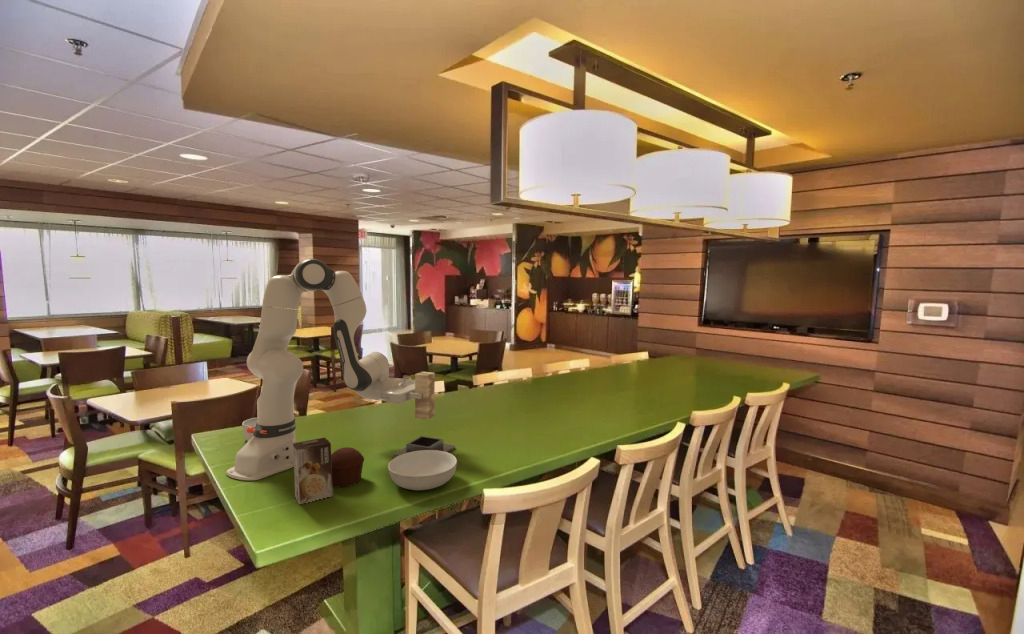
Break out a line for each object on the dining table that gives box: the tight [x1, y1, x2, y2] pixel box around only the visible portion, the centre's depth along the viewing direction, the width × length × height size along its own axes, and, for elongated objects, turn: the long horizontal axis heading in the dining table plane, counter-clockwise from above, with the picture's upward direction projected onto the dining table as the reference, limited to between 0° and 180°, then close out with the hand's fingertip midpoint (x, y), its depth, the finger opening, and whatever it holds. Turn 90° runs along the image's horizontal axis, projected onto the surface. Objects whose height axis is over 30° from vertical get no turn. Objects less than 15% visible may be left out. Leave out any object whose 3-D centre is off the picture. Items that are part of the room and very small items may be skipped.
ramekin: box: [241, 417, 258, 442], centre depth 181 cm, size 13×13×7 cm
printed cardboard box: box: [293, 437, 334, 505], centre depth 132 cm, size 9×6×16 cm
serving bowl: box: [387, 450, 458, 491], centre depth 142 cm, size 21×21×7 cm
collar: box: [393, 435, 456, 458], centre depth 168 cm, size 16×16×4 cm
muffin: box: [331, 446, 365, 488], centre depth 143 cm, size 12×11×10 cm
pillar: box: [414, 371, 436, 421], centre depth 166 cm, size 5×5×16 cm
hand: (427, 394), depth 166 cm, fingers closed on pillar, 5 cm apart
